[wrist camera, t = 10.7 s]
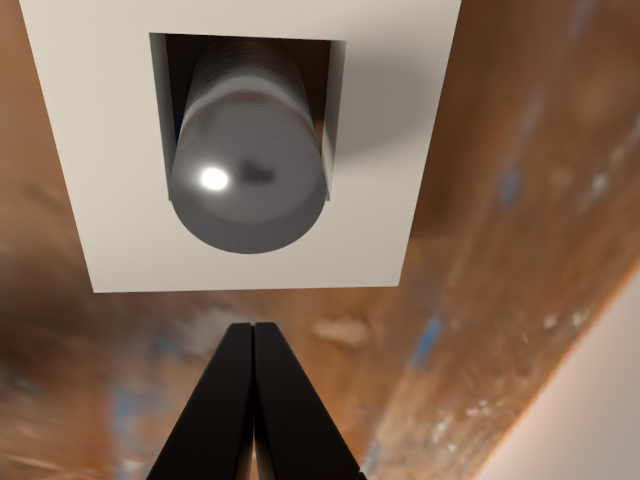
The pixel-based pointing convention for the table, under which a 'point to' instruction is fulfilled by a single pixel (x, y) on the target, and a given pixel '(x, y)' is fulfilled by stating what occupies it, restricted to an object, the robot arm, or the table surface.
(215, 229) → the grey metal cylinder
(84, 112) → the block
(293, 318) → the table surface
